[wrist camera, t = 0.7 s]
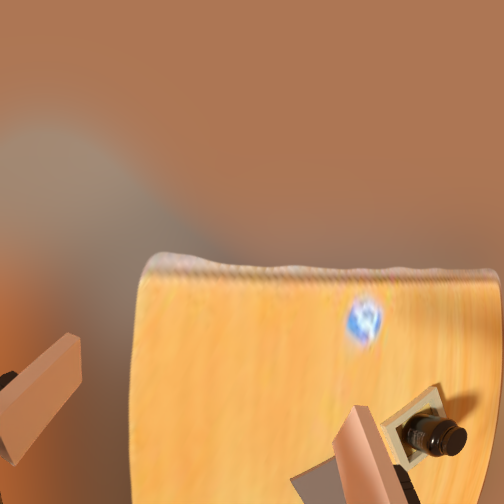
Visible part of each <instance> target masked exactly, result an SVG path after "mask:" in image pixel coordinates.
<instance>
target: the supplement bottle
mask: <svg viewBox="0 0 504 504" xmlns="http://www.w3.org/2000/svg"><path fill="white" fill-rule="evenodd" d="M402 439H403V442H404V443H405V445H407V446H408V447H410V448H413V449H415V450H417V451H420V452H422V453H425V454H427V455H430V456H433V457H440V456H443V455H448V456H454V455H456V454H458V453H459V452H460V451H461V450H462V449H463V447H464V446H465V443H466V440H467V432H466V430H465V429H464V428H461V427H458V426H457V424H456V422H455V421H453V420H452V419H448V418H443V417H439V416H434V415H430V414H425V413H419V414H416V415H414V416H412V417H411V418H410V419H409V420H408V421H407V423H406V424H405V426H404V428H403V432H402Z"/></svg>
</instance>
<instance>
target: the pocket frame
mask: <svg viewBox="0 0 504 504" xmlns="http://www.w3.org/2000/svg"><path fill="white" fill-rule="evenodd" d="M428 402H429V404H430V407H431V410H432V413H433V415H434V416H439V417H443V418H447V416H446V413H445V410H444V407H443V404H442V401H441V398H440V395H439V393H438V390H437V387H432V386H430V387H429V388H427V389H426V390H425V391H424V392H423V393H421V394H420V395H419V396H418V397H416V398H415V399H414V400H413V401H411V402H410V403H409V404H407V405H406V406H405V407H404V408H402V409H401V410H400V411H398V412H397V413H395V414H394V415H393V416H391V417H390V418H389V419H387V420H386V421H384V422H383V423H381V424H380V426H381V428H382V430H383V433H384V435H385V437H386V440H387V442H388V444H389V447H390V449H391V451H392V454H393V456H394V458H395V461H396V463H397V465H398V464H400V465H401V466H402V467H403V468H404V469H405V470H406V471H407V472H408V471H409V470H410V469H412V468H413V467H414V466H416V465H417V464H418V463H419V462H421V461H422V460H423V459H424V458H426V457H427V456H428V455H427V454H425V453H422V452H420V451H416V452H414V453H413V454H412V455H410V456H409V457H408V458H407V456H406V454H405V451H404V449H403V446H402V444H401V441H400V439H399V436H398V434H397V431H396V429H395V428H396V427H398V426H399V425H400V424H402V423H403V422H404V421H406V420H407V419H408V418H410V417H411V416H412V415H413V414H415V413H416V412H417V411H419V410H420V409H421V408H422V407H423V406H425V405H426V404H427V403H428Z"/></svg>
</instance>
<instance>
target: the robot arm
mask: <svg viewBox="0 0 504 504" xmlns="http://www.w3.org/2000/svg"><path fill="white" fill-rule="evenodd" d="M81 383H82V370H81V345H80V338H79V337H77V336H75V335H72V334H70V333H66V334H65V335H64V336H63V337H61V338H60V339H59V340H58V341H57V342H56V343H54V344H53V345H52V346H51V347H50V348H49V349H47V350H46V351H45V352H44V353H43V354H42V355H40V356H39V357H38V358H37V359H36V360H35V361H34V362H32V363H31V364H30V365H29V366H28V367H27V368H26V369H24V370H23V371H22V372H21V373H20V374H17V373H15V372H14V371H11V372H8V373H6V374H3V375H2V376H1V377H0V456H1V457H2V458H4V459H5V460H6V461H8V462H9V463H11V464H12V465H14V466H16V465H17V463H18V462H19V461H20V459H21V458H22V457H23V455H24V454H25V453H26V451H27V450H28V449H29V447H30V446H31V445H32V444H33V442H34V441H35V440H36V438H37V437H38V436H39V435H40V433H41V432H42V431H43V429H44V428H45V427H46V426H47V424H48V423H49V422H50V421H51V419H52V418H53V417H54V416H55V414H56V413H57V412H58V411H59V409H60V408H61V407H62V406H63V404H64V403H65V402H66V401H67V400H68V398H69V397H70V396H71V395H72V393H73V392H74V391H75V390H76V389H77V387H78V386H79V385H80V384H81ZM332 445H333V449H334V453H335V457H336V461H337V465H338V469H339V474H340V478H341V482H342V486H343V491H344V495H345V499H346V504H421V503H420V501H419V499H418V496H417V494H416V491H415V489H413V488H414V487H413V484H412V482H411V480H410V478H409V475H408V473H407V471H406V470H405V469H404V468H403V467H402V466H401V465H400V464H398V465H393V464H392V462H391V460H390V457H389V455H388V452H387V450H386V448H385V445H384V443H383V440H382V438H381V436H380V433H379V431H378V429H377V426H376V424H375V422H374V420H373V417H372V415H371V413H370V410H369V408H368V406H358V405H354V406H353V408H352V410H351V411H350V413H349V415H348V417H347V419H346V420H345V422H344V424H343V425H342V427H341V429H340V431H339V432H338V434H337V436H336V437H335V439H334V440H333V442H332ZM0 504H3V503H2V498H1V493H0Z"/></svg>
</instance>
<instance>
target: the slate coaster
mask: <svg viewBox="0 0 504 504" xmlns="http://www.w3.org/2000/svg"><path fill="white" fill-rule="evenodd" d="M290 481H291V483H292V484H293V486H294V488H295V489H296V491H297V492H298V494H299V496H300V497H301V499H302V501H303V502H304V504H346V499H345V495H344V491H343V486H342V482H341V478H340V474H339V469H338V465H337V461H336V457H335V456H333V457H332V458H330V459H328V460H326V461H324V462H323V463H321V464H319V465H317V466H315V467H313V468H311V469H309V470H307V471H305V472H303V473H301V474H299V475H297V476H295V477H293V478H291V479H290Z"/></svg>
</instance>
